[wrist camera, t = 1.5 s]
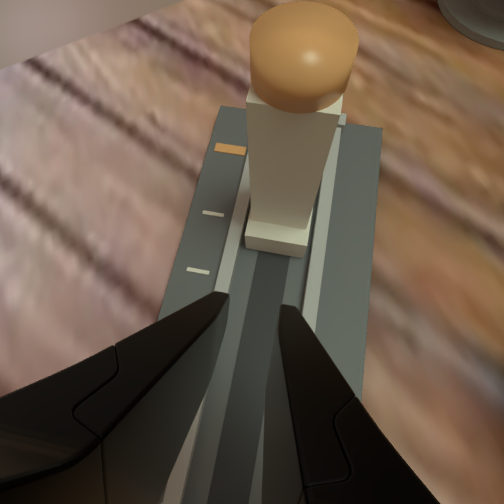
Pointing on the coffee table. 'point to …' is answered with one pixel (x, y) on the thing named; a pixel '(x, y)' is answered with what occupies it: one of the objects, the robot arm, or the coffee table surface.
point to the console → (268, 298)
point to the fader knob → (293, 117)
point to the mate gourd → (477, 19)
